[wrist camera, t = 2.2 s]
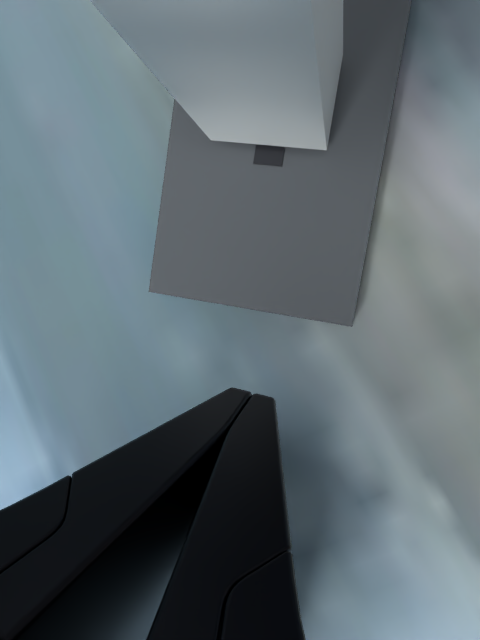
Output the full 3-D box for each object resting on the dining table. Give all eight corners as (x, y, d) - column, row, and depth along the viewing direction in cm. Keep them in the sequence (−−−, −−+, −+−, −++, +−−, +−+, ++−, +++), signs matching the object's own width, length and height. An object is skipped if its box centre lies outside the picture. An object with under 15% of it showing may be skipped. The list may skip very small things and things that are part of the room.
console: (351, 324, 19) (352, 326, 17) (159, 291, 21) (147, 291, 19) (449, -213, 17) (458, -255, 15) (225, -194, 19) (216, -229, 17)
